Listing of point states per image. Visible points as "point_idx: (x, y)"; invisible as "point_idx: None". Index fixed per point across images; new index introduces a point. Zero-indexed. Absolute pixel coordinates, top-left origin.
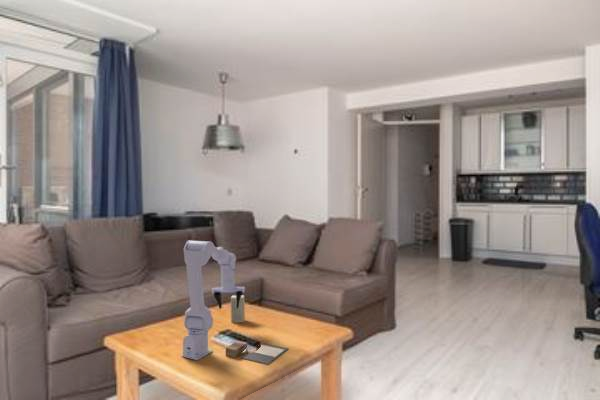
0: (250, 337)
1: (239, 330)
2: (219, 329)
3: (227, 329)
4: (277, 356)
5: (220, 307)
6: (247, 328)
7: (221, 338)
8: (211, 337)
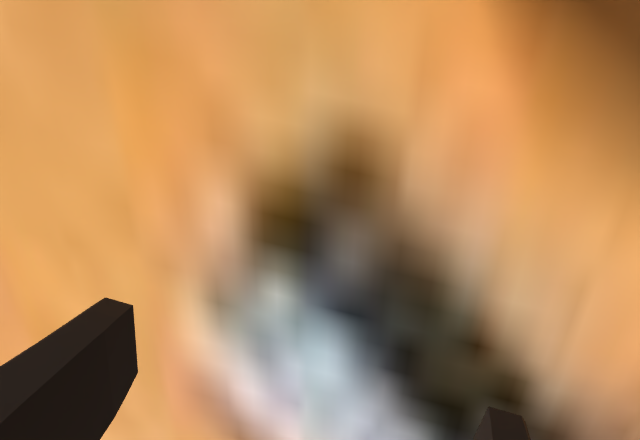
0: (567, 423)
1: (494, 215)
2: (246, 124)
3: (346, 147)
4: None
5: (114, 399)
6: (622, 172)
7: (277, 367)
8: (182, 322)
